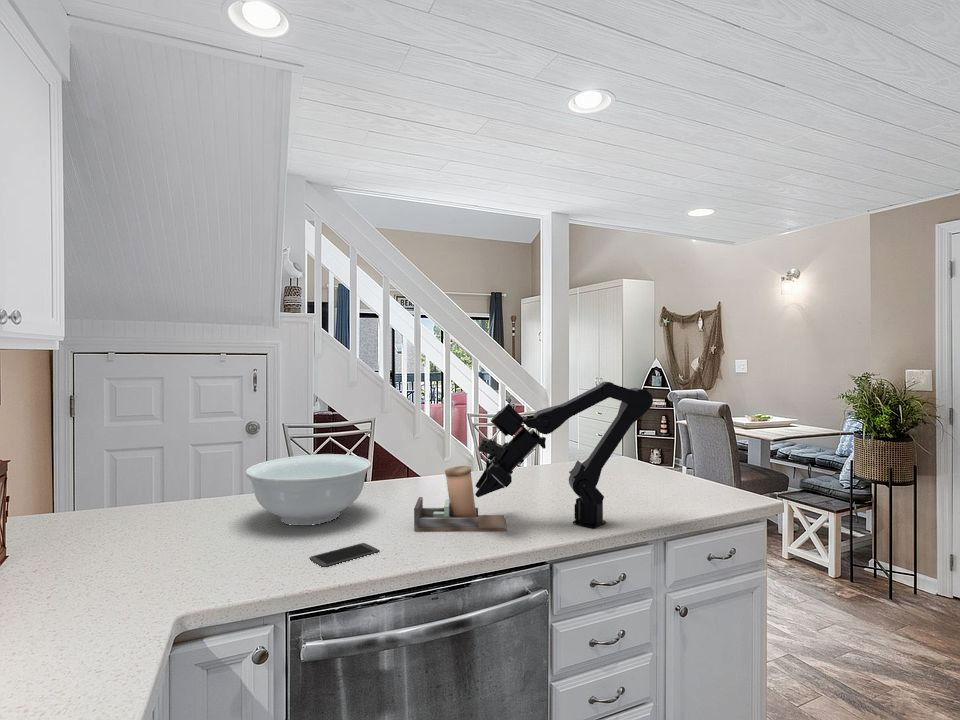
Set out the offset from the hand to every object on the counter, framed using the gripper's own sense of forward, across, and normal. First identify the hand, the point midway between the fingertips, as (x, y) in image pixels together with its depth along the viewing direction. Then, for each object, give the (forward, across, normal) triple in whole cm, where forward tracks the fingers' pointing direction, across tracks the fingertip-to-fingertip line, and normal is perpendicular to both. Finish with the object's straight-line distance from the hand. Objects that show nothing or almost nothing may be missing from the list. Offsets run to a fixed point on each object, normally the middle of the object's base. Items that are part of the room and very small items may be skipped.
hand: (476, 491), depth 141 cm
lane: (+9, 0, +3) cm, 10 cm away
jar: (+7, 0, +3) cm, 8 cm away
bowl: (+38, -7, -26) cm, 47 cm away
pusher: (+12, 0, -1) cm, 12 cm away
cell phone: (+27, +22, -14) cm, 37 cm away
